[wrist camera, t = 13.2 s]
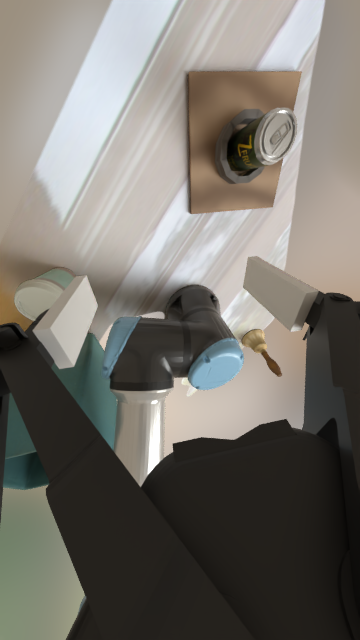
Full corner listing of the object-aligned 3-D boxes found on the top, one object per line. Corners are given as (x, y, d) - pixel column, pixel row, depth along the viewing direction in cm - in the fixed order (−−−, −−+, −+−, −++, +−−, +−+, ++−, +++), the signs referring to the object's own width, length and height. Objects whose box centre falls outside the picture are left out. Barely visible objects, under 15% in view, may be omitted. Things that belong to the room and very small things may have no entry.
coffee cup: (35, 261, 38) (-2, 285, 28) (78, 260, 39) (57, 282, 29) (51, 297, 43) (24, 327, 33) (88, 295, 44) (73, 323, 34)
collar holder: (270, 206, 39) (281, 208, 36) (190, 213, 37) (194, 215, 34) (297, 74, 29) (316, 60, 25) (188, 75, 27) (194, 59, 24)
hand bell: (259, 346, 66) (287, 382, 54) (239, 347, 65) (262, 385, 52) (267, 328, 62) (300, 364, 49) (245, 329, 60) (273, 366, 47)
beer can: (242, 122, 30) (289, 89, 20) (257, 153, 33) (304, 138, 23) (217, 151, 32) (250, 134, 22) (234, 179, 34) (269, 174, 25)
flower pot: (125, 363, 60) (117, 469, 39) (66, 376, 59) (24, 492, 38) (102, 319, 47) (69, 443, 26) (25, 334, 46) (-75, 476, 25)
